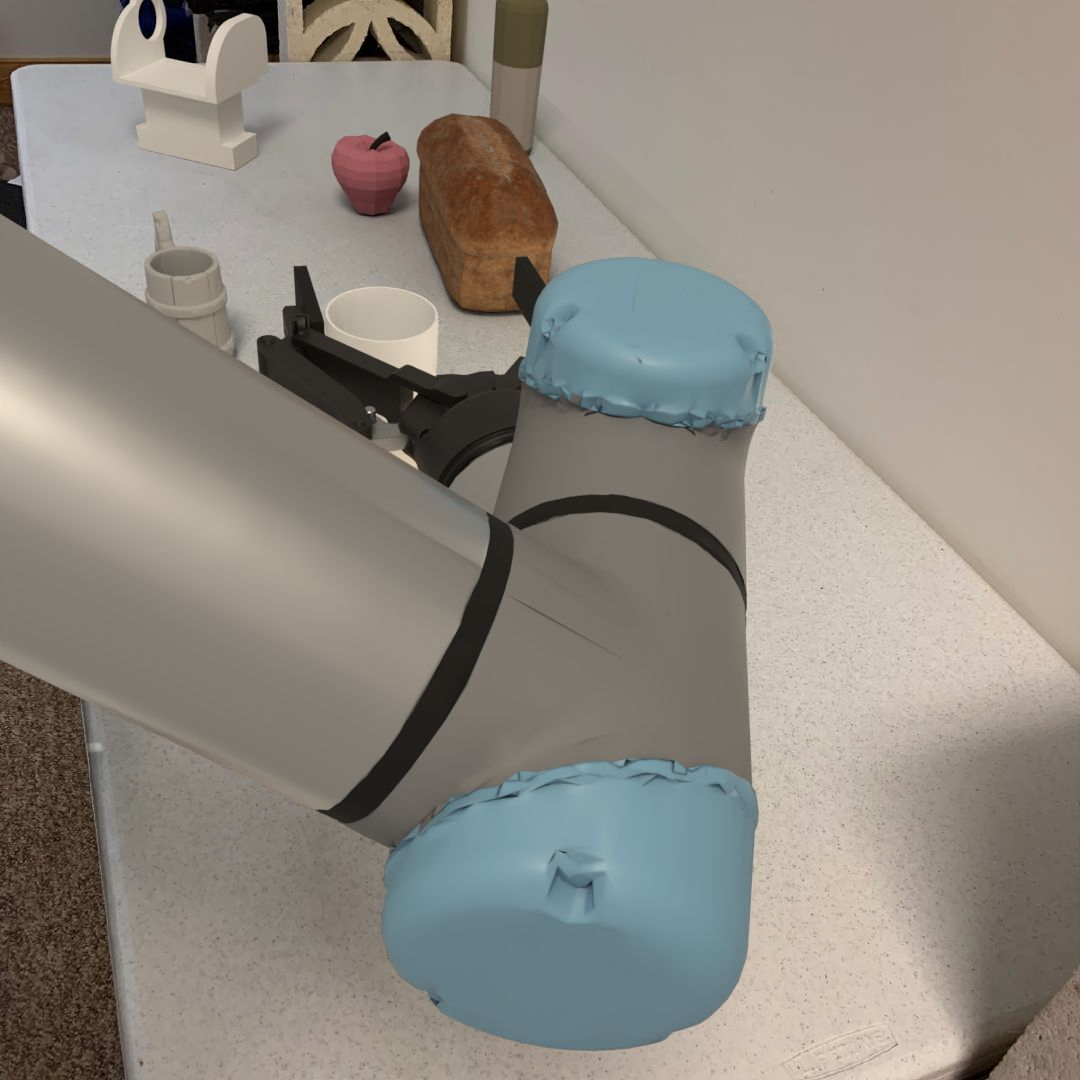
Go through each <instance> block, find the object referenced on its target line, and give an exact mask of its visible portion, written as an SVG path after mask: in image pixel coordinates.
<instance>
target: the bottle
mask: <svg viewBox="0 0 1080 1080" xmlns="http://www.w3.org/2000/svg"><path fill="white" fill-rule="evenodd" d="M549 10H550V9H549V1H548V0H495V9H494V11H495V12H494V26H493V27H494V29H493V47H492V48H493V49H492V67H491V83H490V84H491V86H490V88H491V89H490V107H489V118H494V119H497V120H498V121H499V122H501V123H502V124H504V125H505V126H507V127H508V128H509V129H510V130H511V132H512V133H513V134H514V136H515V137H516V139H517V140H518V141H519V142H520V144H521V146H522V147H523V149H524V150H525V152H526V154H527V155H528V156H529V155H530V154H531V153H532V149H533V146H534V138H535V129H536V120H537V113H538V104H539V96H540V88H541V87H540V86H541V79H542V70H543V63H544V62H543V61H544V54H545V44H546V37H547V27H548V19H549Z"/></svg>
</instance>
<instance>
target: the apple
mask: <svg viewBox="0 0 1080 1080" xmlns="http://www.w3.org/2000/svg"><path fill="white" fill-rule="evenodd" d="M410 160H411V159H410V157H409V154H408V151H407V149H406V147H405V148H404V147H403V146H401V145H400V144H398V143H396V142H395V141H394V140H392V137H391V136H390V134H389V131H388V130H387V131H385V132H383V133H381V134H380V135H379V136H378V137H373V136H371V135H368V134H361V135H344V136H343V137H342V138H340V139H338V140H337V141H336V143H335V146H334V147H333V151H332V153H331V162H330V163H331V169H332V172H333V176H334V178H335V179H336V181H337V182H338V184H339V186H340V187H341V189H342V191H343V192H344V194H345V195H346V196H347V198H348V200H349V201H350V203H351V205H352V206H353V208H354V209H355V210H356V211H357V212H358V214H359V213H360V214H363V215H369V216H375V215H377V214H379V215H380V214H385V213H387V212H389V211H390V209H392V206H393V204H394V203H395V201H396V199H397V196H398V195H399V193H400V192H401V190H402V189H403V187H404V185H406V183H407V180H408V176H409V172H410V167H411V166H410V165H411V163H410V162H411V161H410Z"/></svg>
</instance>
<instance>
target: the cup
mask: <svg viewBox="0 0 1080 1080" xmlns="http://www.w3.org/2000/svg"><path fill="white" fill-rule="evenodd" d="M324 313H325V314H324V317H325V318H324V326H325V335H326V336H328V337H331V338H333V339H335V340H337V341H339V342H342V343H344V344H346V345H348V346H350V347H353V348H355V349H357V350H359V351H361V352H364V353H366V354H368V355H370V356H372V357H375V358H377V359H379V360H381V361H384V362H386V363H388V364H390V365H392V366H395V367H397V368H401V367H402V366H404V365H407V364H408V365H411V366H413V367H416V368H418V369H420V370H422V371H425V372H427V373H429V374H431V375H433V376H436V375H437V371H438V347H439V313H438V310H437V308H436V306H435V304H433V303H432V302H431V301H430V300H428V298H426V297H424V296H423V295H420V294H418V293H416V292H413V291H410V290H407V289H403V288H399V287H398V288H397V287H393V286H364V287H358V288H354V289H350V290H347V291H344V292H342V293H339V294H338V295H336V296H335V297H333V298H332V299H331V300H330V301H329V302H328V304H327V305H326V308H325V312H324ZM417 394H418V393H416V392H414V396H413V399H414V398H415V397H416V395H417ZM376 416H378V417H379V418H380V419H382V420H383V421H385V422H387V423H388V421H387V420H386V418H384V417H383V416H381V415H379V414H376ZM390 453H392V454H393V455H395V456H397V457H398V458H400V459H402V460H403V461H405V462H407V463H408V464H410V465H411V466H413V467H415V468H416V469H418V467H417V464H416V462H415V461H414V460H413V459H412V458H410V457H409V456H408V455H406V454H405V453H404V452H403V451H402V450H396V451H390Z"/></svg>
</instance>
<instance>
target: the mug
mask: <svg viewBox="0 0 1080 1080" xmlns="http://www.w3.org/2000/svg"><path fill="white" fill-rule="evenodd" d="M152 219H153V224H154V232H155V233H154V252H152V253H151V254H149V255H148V257H146V259H144V264H143V265H144V273H145V281H146V282H145V283H146V287H145V291H144V297H145V303H147V304H148V305H150V306H151V307H153V308H155V309H156V310H158V311H160V312H161V313H163V314H165V315H166V316H168V317H169V318H171V319H173V320H174V321H176V322H178V323H179V324H181V325H183V326H184V327H186V328H187V329H189V330H191V331H192V332H194V333H196V334H197V335H199V336H201V337H202V338H204V339H205V340H207V341H209V342H210V343H212V344H214V345H215V346H217V347H219V348H220V349H222V350H223V351H225V352H227V353H228V354H230V355H232V356H233V357H235V355H234V351H235V350H236V344H237V343H236V336H235V332H234V331H233V330H232V328H231V327H230V321H229V315H228V310H227V303H228V292H227V287H226V285H225V284H224V283H223V278H222V272H221V267H220V261H219V260H218V257H217V256H216V255H215V254H214V253H212V252H211V251H209V250H206V249H204V248H201V247H196V246H194V247H191V246H187V245H178V246H176V245H175V243H174V240H173V235H172V229H171V225H170V220H169V217H168V213H167V212H166V211H165V210H164V209H163V210H159V211H158V210H157V211H154V212H152Z"/></svg>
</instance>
